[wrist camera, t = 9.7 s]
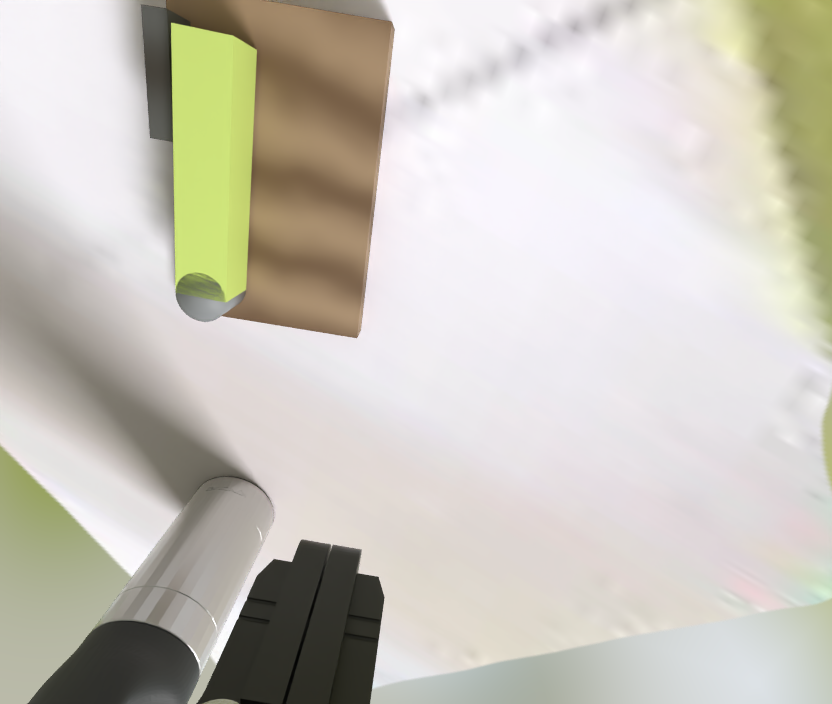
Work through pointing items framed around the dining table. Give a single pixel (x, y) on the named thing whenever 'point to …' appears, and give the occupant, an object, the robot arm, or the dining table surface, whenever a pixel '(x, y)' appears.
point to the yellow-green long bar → (211, 167)
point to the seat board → (297, 150)
